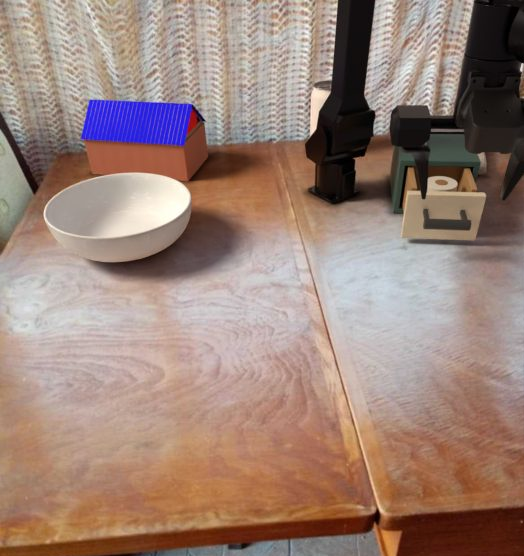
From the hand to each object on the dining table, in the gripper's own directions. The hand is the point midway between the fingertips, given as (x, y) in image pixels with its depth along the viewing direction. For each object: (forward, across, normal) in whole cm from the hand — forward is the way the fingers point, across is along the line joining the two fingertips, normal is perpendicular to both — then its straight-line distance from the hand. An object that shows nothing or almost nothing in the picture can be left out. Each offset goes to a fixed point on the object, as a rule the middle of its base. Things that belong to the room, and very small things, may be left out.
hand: (462, 198), depth 65 cm
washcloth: (+11, +6, +41) cm, 43 cm away
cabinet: (+11, 0, +25) cm, 27 cm away
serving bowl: (+11, -46, +6) cm, 48 cm away
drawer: (+10, 0, +12) cm, 16 cm away
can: (+11, -18, +44) cm, 49 cm away
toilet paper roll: (+9, 0, +14) cm, 17 cm away
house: (+11, -51, +35) cm, 63 cm away
